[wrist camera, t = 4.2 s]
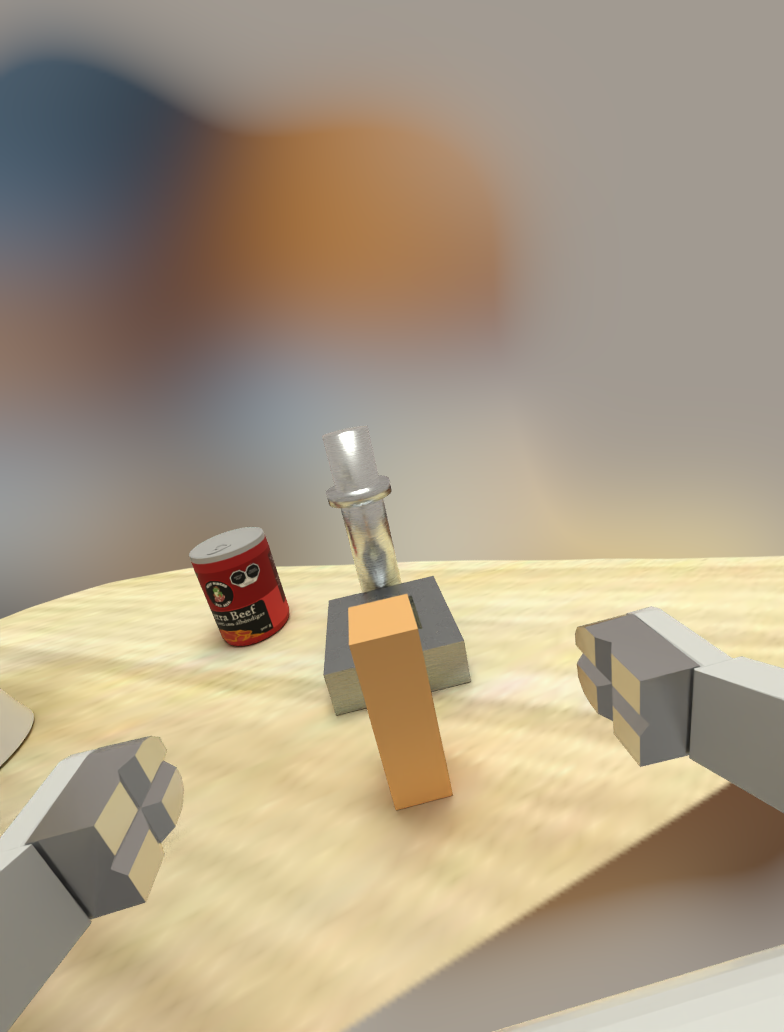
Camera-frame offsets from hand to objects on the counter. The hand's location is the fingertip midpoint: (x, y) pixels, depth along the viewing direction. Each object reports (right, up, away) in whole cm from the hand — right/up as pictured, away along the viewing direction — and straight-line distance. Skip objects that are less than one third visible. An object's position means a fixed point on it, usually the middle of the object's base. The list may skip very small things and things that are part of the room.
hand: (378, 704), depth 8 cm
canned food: (-15, -9, +38) cm, 42 cm away
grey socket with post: (0, -8, +31) cm, 32 cm away
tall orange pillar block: (+2, -13, +17) cm, 22 cm away
